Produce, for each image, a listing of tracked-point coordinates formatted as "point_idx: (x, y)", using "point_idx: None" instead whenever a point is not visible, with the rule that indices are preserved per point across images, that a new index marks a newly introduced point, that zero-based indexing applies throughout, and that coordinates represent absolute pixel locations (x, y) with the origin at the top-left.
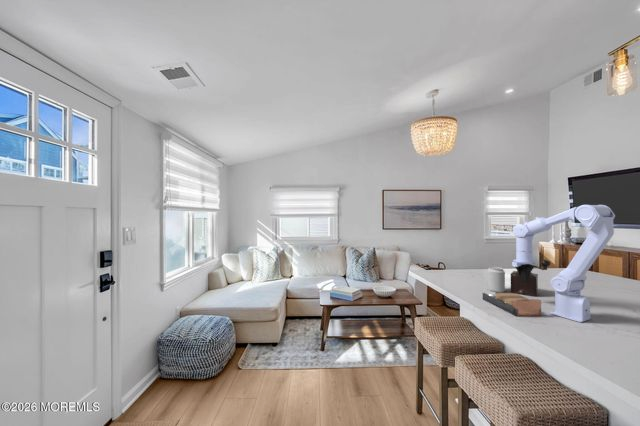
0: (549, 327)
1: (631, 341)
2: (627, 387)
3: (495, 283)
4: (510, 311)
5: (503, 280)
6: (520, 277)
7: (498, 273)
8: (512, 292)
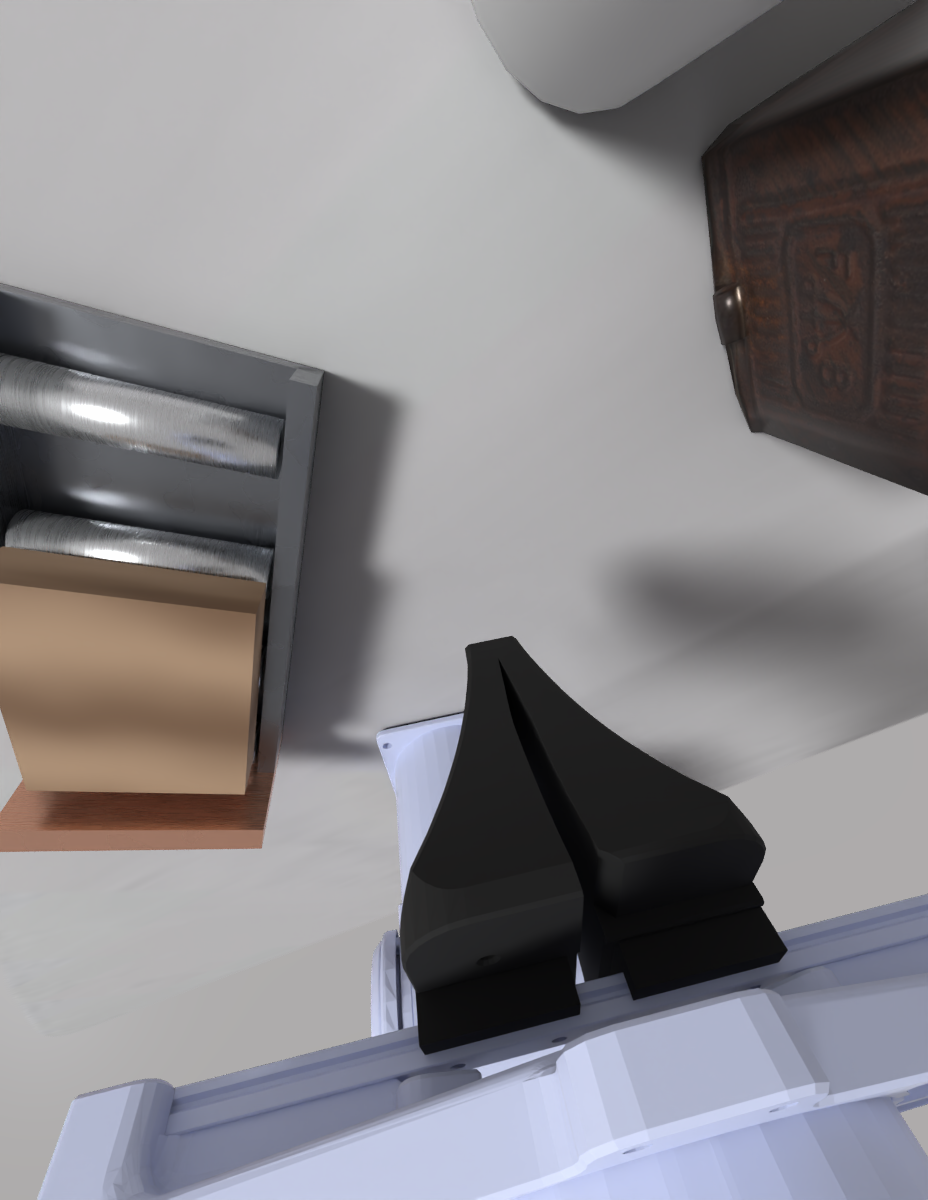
0: None
1: (392, 910)
2: (56, 1034)
3: None
4: None
5: (705, 33)
6: (468, 688)
7: None
8: (704, 184)
